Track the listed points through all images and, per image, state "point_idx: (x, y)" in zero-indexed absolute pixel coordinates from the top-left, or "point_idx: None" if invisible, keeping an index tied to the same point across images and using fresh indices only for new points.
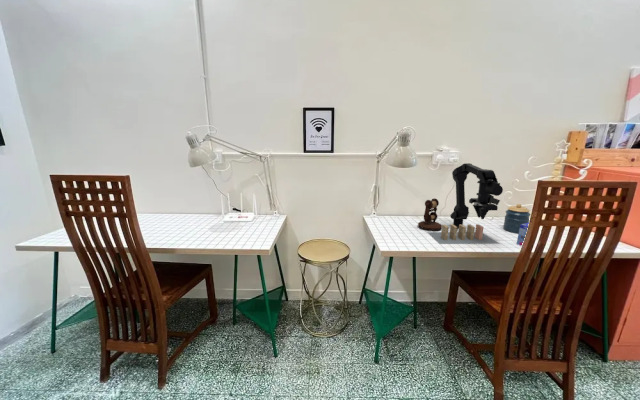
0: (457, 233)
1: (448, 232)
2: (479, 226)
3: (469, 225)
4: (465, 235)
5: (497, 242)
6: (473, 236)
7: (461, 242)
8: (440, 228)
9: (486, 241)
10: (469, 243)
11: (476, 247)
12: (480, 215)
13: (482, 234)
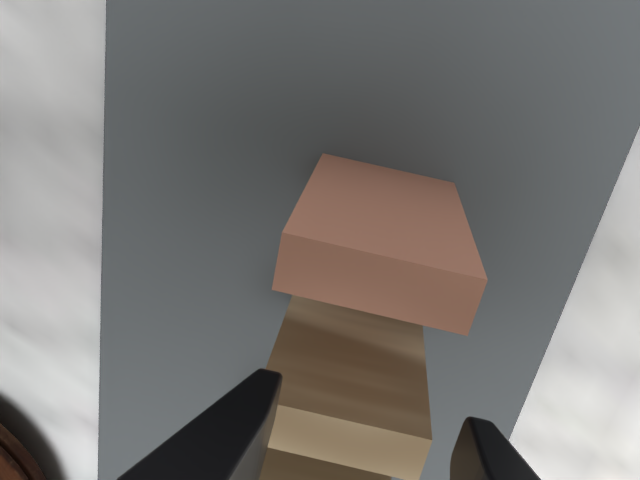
0: (152, 318)
1: (109, 392)
2: (413, 321)
3: (314, 455)
4: (238, 272)
5: (629, 9)
6: (422, 331)
7: (448, 472)
8: (18, 449)
9: (524, 157)
10: (507, 418)
11: (621, 408)
12: (266, 417)
13: (465, 218)
